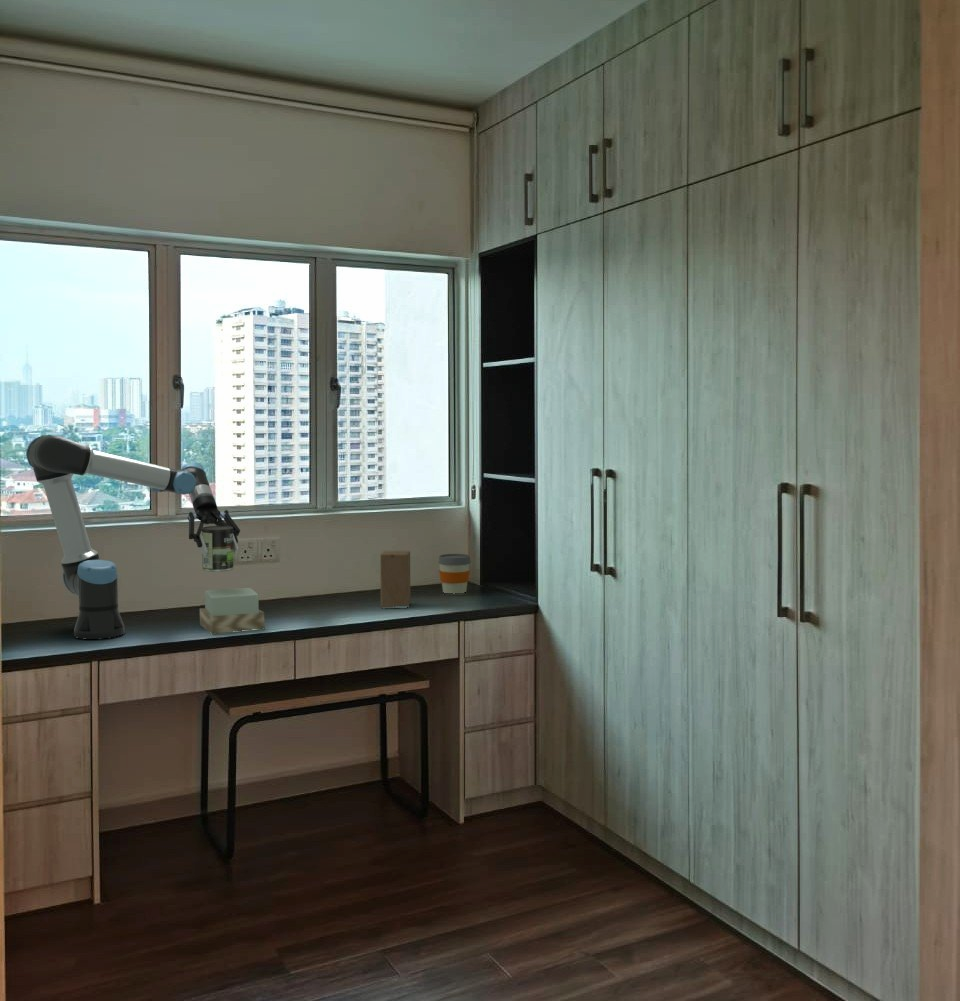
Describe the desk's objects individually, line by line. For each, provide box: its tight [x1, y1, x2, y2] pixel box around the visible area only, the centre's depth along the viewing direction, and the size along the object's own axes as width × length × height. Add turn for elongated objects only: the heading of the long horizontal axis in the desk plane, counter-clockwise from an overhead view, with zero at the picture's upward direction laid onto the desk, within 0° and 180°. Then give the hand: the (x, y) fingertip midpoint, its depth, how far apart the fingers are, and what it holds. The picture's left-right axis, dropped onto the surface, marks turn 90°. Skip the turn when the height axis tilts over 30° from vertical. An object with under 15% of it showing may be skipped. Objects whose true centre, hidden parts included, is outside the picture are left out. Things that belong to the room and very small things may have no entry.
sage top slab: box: [204, 587, 260, 616], centre depth 334 cm, size 15×15×6 cm
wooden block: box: [379, 550, 411, 608], centre depth 371 cm, size 10×10×20 cm
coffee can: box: [201, 525, 234, 573], centre depth 339 cm, size 10×10×14 cm
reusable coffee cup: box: [438, 553, 472, 594], centre depth 397 cm, size 13×13×15 cm
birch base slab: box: [199, 607, 265, 635], centre depth 335 cm, size 17×17×6 cm
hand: (221, 552), depth 336 cm, fingers closed on coffee can, 10 cm apart
